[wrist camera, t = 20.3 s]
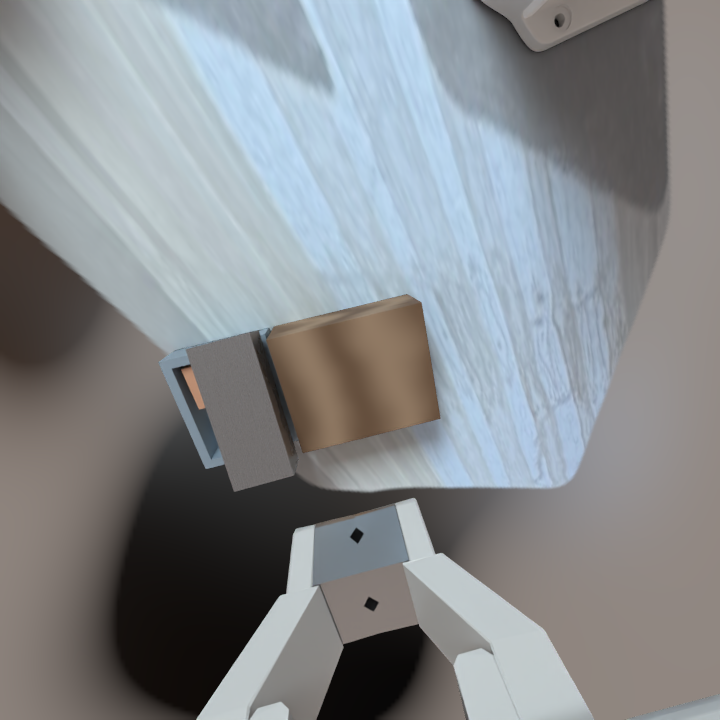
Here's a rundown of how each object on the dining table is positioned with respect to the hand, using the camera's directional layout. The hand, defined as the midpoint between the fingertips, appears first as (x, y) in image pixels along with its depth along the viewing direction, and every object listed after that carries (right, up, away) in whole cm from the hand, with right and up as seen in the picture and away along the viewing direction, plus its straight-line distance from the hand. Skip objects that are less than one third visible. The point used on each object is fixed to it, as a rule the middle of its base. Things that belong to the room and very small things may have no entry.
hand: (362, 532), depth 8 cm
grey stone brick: (-7, +1, +20) cm, 21 cm away
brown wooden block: (-1, +4, +26) cm, 27 cm away
